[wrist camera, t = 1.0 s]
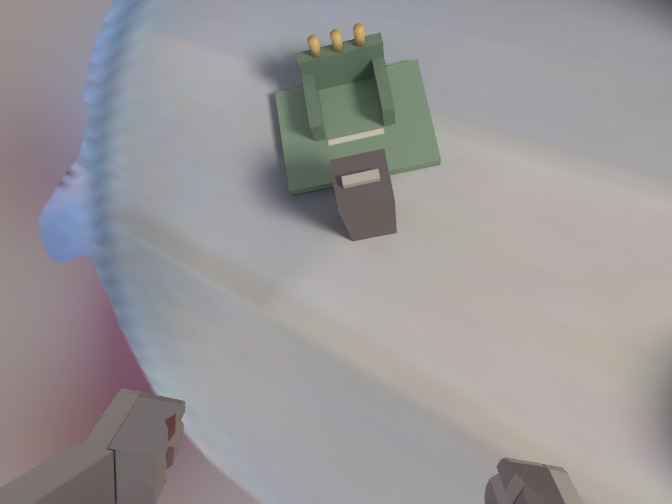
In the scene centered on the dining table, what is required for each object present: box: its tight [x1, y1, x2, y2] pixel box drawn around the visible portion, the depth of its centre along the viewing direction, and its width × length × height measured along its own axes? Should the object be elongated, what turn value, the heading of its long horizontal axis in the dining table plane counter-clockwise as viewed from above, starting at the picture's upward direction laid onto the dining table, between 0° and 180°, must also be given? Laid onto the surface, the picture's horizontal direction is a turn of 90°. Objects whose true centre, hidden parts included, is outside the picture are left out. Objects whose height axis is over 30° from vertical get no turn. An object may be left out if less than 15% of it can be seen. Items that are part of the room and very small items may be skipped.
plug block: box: [330, 149, 397, 241], centre depth 39 cm, size 5×5×11 cm
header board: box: [275, 23, 441, 195], centre depth 42 cm, size 12×16×8 cm
